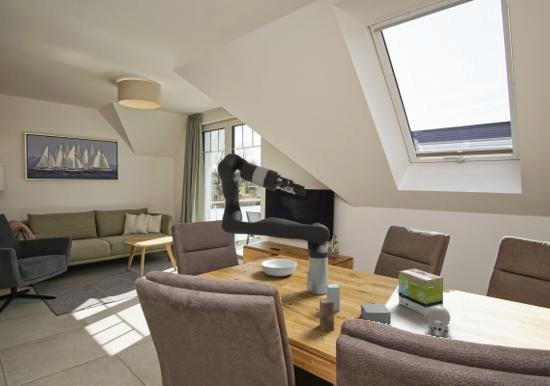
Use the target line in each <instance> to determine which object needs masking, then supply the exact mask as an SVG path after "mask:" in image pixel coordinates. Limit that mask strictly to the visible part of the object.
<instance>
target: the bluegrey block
mask: <svg viewBox="0 0 550 386" xmlns="http://www.w3.org/2000/svg"><path fill="white" fill-rule="evenodd" d="M340 288H341V287H340V286H339V284H338V283H334V284H333V283H328V284H327V293H326V298H332V300H333V302H334V312H340V310H341V309H340V306H341V305H340V304H341V303H340V299H341V298H340V297H341V295H340V294H341V292H340Z"/></svg>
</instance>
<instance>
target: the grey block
mask: <svg viewBox="0 0 550 386" xmlns="http://www.w3.org/2000/svg"><path fill="white" fill-rule="evenodd" d="M391 314H392V313H391V311H390V310H389V309H388V308H387V306H386V305H385V304H384V303H360V316H361V319H362V320H363V319H364V320H370V321H375V322H380V323H383V324H386V323H387V325H386V326H390V325H389V324H391V325H392V320H391V318H392V315H391ZM364 320H363V321H364Z"/></svg>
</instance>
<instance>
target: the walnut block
mask: <svg viewBox="0 0 550 386" xmlns="http://www.w3.org/2000/svg"><path fill="white" fill-rule="evenodd" d="M319 327H320V329H321V331H335V311H334V302H333V300H332V298H327V297H326V298H319Z"/></svg>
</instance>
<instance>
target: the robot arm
mask: <svg viewBox="0 0 550 386" xmlns="http://www.w3.org/2000/svg"><path fill="white" fill-rule="evenodd" d="M217 164H218V165H217V174H218V176H219V178H220V181H221V189H222V190H221V191H222V194H223V198H224V201H225V202H224V203H225V204H224V205H225V206H224V209H223V210H224V212H223V215H222V219H221V226H220V227H221V229H222V231H223V232H225V233H228V234H234V235H254V236H262V237H263V236H265V237H269V238H277V239H285V240H286V239H288V240H303V241H306V242H307V251H308V271H307V275H306V276H307V277H306V278H307V279H306V280H307V282H306V283H307V284H306V285H307V292H309V293H310V294H313V295H325V294H326V295H327V284H329V252H328V249H327V244H326V243H327V242H328V241H329V240H330V237H331V232H330V230H329V228H328V227H327V226H325V225H324V224H321V223H320V222H314V223H312V224H303V223H299V222H296V221H293V220H290V219H289V220H288V219H285V218H278V217H267V218H262V219H260V220H257V221H243V212H242V209H241V206H240V198H239V196H240V194H239V193H240V191H239V190H240V185H239V184H240V183H239V177H238V176H237V174H235V172H237V171H239V176H240V178H241V179H243V180H244V181H246V182H249V183H253V184H255V185H257V186H259V187H261V188H263V189H267V190H270V191H272V192H274V191H276V190H277V188H279V189H280V190H281V191H284V192H286V193H290V194H292V195H298V196H302V197H306V195H307V190H305V189H306V187H305V186H304V185H302V184H298V183H296V182H295V181H294V180H293V179H288V178H286V177H283V176H281V175H282V174H281V173H280V171H279V172H278V171H276V170H273V169H270V168H268V167H264V166H260V165H256V164H254V163H251V162H249V161H248V160H246V159H244V158H243V157H241V155H239V154H237V153H228V154H226V156H224V157H223V159H221V160H220V161H219V163H217Z"/></svg>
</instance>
